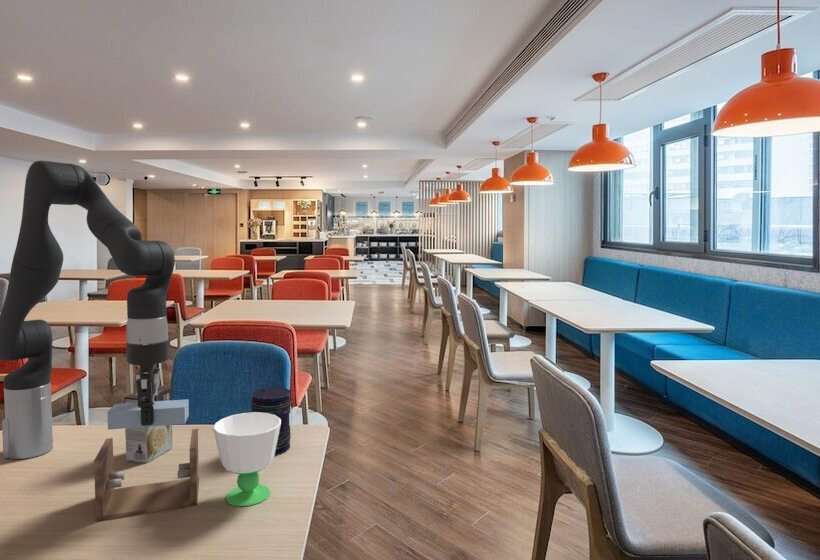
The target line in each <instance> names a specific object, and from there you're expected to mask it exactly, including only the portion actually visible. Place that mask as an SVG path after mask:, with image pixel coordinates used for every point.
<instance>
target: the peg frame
mask: <svg viewBox="0 0 820 560" xmlns="http://www.w3.org/2000/svg"><path fill="white" fill-rule="evenodd" d="M190 435H191V436H190V441H189V443H190V444H189V462H184V463H179V464H178V470H177V479H174V480H169V481H160V482H155V483H154V482H153V483H146V484H142V485H141V484H139V485H132V486H126V487H122V481H123V480H124V479H125V471H117V472H116V471H115V472H114V470H115V469H114V442H113V441H114V440H113V439H114V438H113V437H111V438H110V437H109V438H106V439H104V442H103V444H102V445H101V447H100V449H99V451H98V453H97V455H96V456H95V459H93V469H94V471H93V472H94V499H95V500H94V501H95V516H94V517H95V519H94V520H95V522H99V521H104V520H111V519H118V518H125V517H130V516H134V515H135V516H136V515H142V514H149V513H155V512H160V511H166V510H174V509H179V508H185V507H186V508H187V507H191V506H198V503H199V502H198V499H199V487H200V475H199V470H200V469H199V428H193V429H191V433H190Z"/></svg>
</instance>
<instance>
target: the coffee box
mask: <svg viewBox="0 0 820 560" xmlns="http://www.w3.org/2000/svg"><path fill="white" fill-rule="evenodd" d="M171 390H172V388H171V387H160V386H159V390H158V396H155V397H157V401H169V400H172V391H171ZM145 398H147V397H143V401H145ZM136 402H138V395H137V391H136V392H134V393H131V394H129V395H126V396H123V403H136ZM124 431H125V432H124V434H125V458H126V459H125V460H126V461H128V462H138V463H144V464H145V463H146V464H149V463H150V462H152V461H153V460H155V459H157V458H158V457H160V456H162V455H163V454H164V453H166V452H168V451H170V450H171V449H173V425H163V426H149V427H136V428H124Z"/></svg>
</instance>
